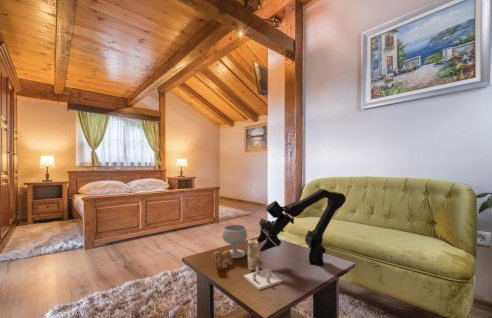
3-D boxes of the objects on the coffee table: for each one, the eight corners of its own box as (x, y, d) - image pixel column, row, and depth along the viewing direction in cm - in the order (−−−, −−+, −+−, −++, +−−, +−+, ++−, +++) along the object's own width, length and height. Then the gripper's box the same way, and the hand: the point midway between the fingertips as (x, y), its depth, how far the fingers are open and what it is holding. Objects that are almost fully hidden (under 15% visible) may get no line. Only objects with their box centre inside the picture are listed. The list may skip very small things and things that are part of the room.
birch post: (256, 265, 118) (256, 239, 118) (258, 269, 113) (258, 242, 113) (247, 266, 117) (247, 240, 117) (249, 270, 112) (249, 243, 112)
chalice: (247, 259, 124) (247, 231, 124) (220, 259, 125) (220, 231, 125) (247, 249, 138) (247, 224, 138) (223, 249, 139) (223, 224, 139)
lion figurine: (219, 273, 110) (219, 253, 110) (210, 270, 112) (210, 251, 112) (235, 261, 123) (235, 244, 123) (227, 259, 125) (227, 242, 125)
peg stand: (265, 271, 112) (265, 262, 112) (281, 282, 101) (281, 273, 101) (244, 277, 106) (244, 268, 106) (258, 290, 95) (258, 280, 95)
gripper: (264, 209, 126) (243, 230, 124) (274, 217, 107) (250, 243, 105) (277, 223, 127) (258, 244, 125) (290, 234, 109) (267, 259, 107)
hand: (258, 247), depth 116 cm, fingers open, 9 cm apart
